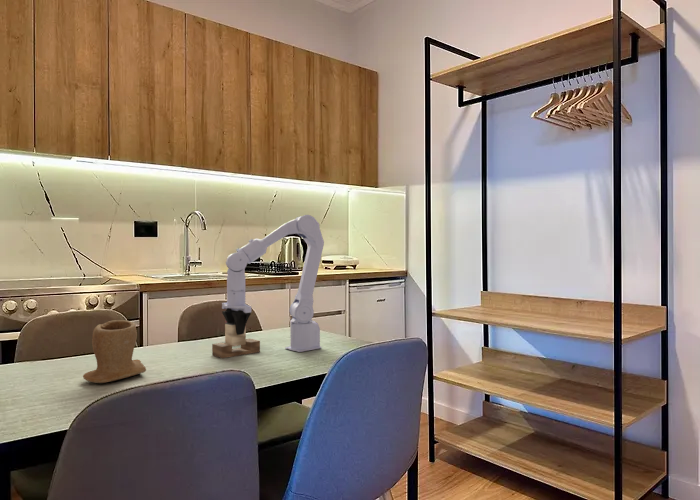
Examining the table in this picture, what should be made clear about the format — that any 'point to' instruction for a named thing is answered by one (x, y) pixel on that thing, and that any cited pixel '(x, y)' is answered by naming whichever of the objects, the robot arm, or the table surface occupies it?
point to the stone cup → (114, 352)
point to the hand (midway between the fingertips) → (236, 333)
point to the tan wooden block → (234, 335)
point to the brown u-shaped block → (235, 349)
